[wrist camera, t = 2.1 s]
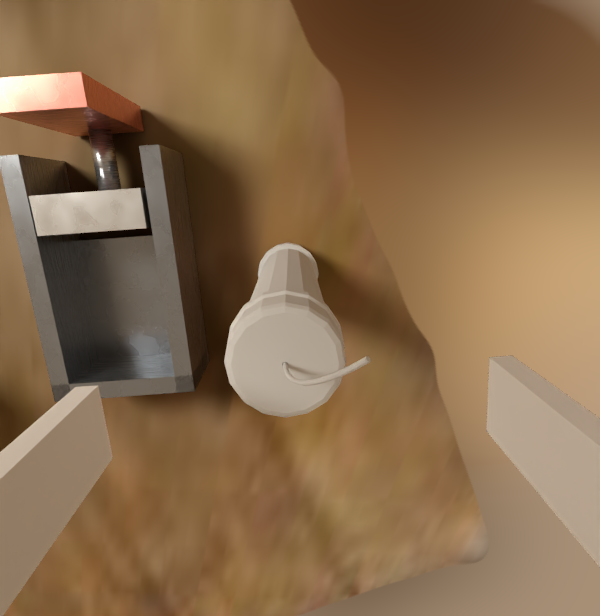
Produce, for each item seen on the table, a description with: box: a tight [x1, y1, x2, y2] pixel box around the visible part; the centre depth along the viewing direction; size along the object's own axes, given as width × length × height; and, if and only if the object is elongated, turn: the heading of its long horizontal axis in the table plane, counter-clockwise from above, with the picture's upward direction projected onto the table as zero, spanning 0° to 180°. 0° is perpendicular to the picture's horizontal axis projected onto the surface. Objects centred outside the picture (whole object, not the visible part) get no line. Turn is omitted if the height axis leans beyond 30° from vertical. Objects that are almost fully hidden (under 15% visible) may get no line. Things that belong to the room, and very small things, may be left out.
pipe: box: [224, 243, 371, 417], centre depth 27 cm, size 6×6×30 cm
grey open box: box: [0, 144, 209, 402], centre depth 38 cm, size 20×12×7 cm, turn 4°
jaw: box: [0, 72, 151, 236], centre depth 34 cm, size 10×8×11 cm
